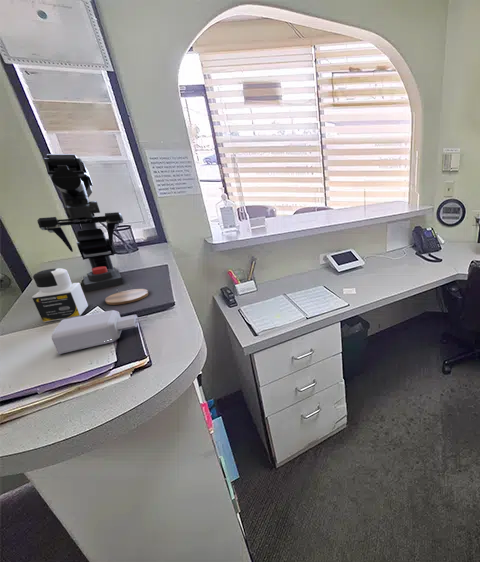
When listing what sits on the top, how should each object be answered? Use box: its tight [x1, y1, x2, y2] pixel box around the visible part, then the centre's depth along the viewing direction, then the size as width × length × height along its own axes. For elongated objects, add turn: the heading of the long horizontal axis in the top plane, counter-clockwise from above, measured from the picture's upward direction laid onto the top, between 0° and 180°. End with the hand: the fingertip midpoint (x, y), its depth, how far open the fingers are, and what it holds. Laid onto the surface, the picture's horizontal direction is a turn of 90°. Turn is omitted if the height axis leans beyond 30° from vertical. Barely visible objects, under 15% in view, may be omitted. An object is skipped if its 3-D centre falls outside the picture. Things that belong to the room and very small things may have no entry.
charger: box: [51, 309, 148, 355], centre depth 69 cm, size 5×9×15 cm
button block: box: [82, 269, 124, 292], centre depth 100 cm, size 10×9×4 cm
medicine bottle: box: [31, 267, 89, 323], centre depth 78 cm, size 7×7×12 cm
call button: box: [91, 266, 108, 274], centre depth 99 cm, size 4×4×2 cm
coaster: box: [104, 288, 150, 306], centre depth 90 cm, size 10×10×1 cm
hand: (92, 249), depth 95 cm, fingers open, 9 cm apart
